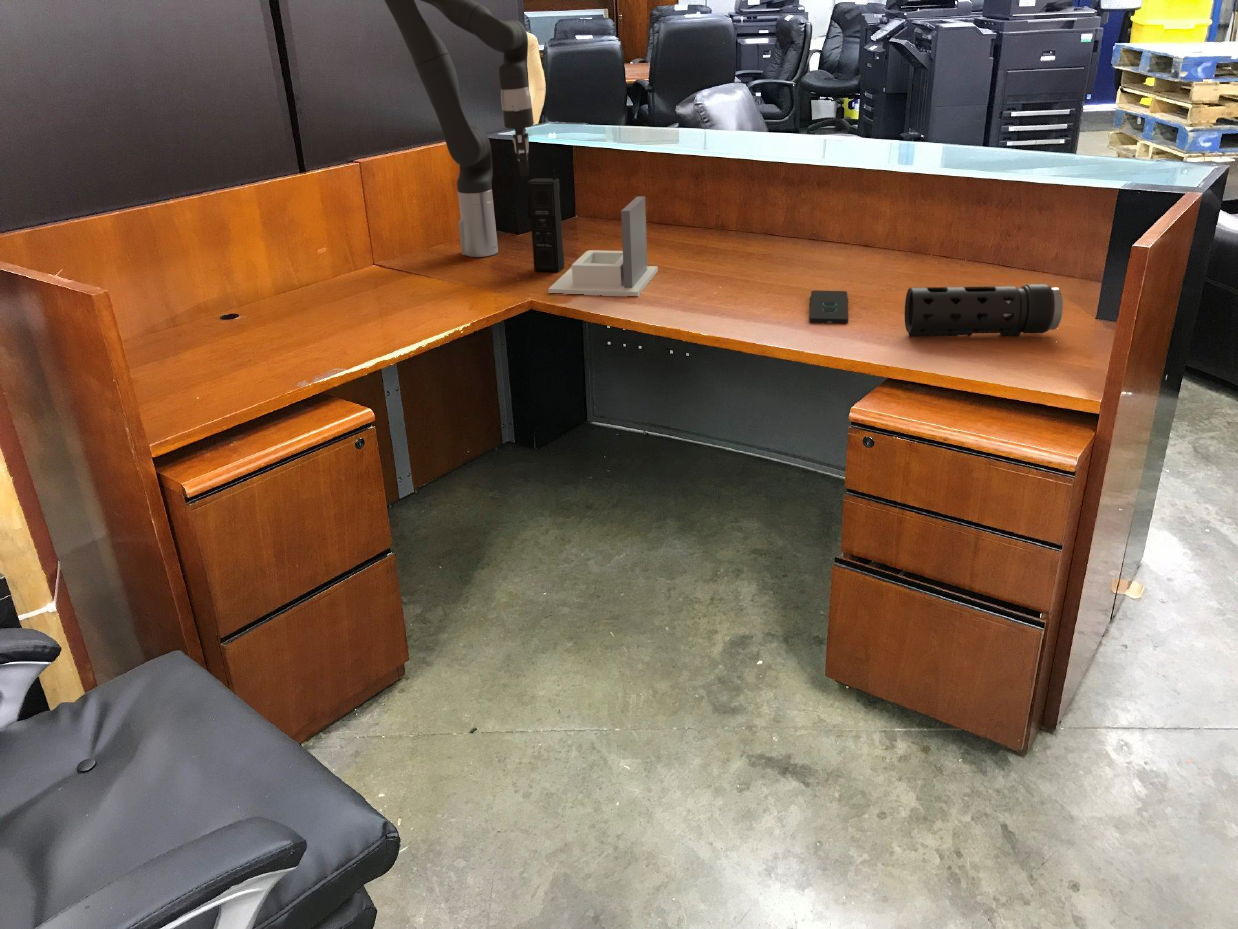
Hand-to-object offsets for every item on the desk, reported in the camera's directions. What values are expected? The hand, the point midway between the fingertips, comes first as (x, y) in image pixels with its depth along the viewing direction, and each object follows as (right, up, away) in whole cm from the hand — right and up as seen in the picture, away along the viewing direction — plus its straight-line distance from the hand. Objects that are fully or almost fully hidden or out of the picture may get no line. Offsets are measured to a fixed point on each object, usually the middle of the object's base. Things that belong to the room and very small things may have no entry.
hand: (525, 172), depth 250 cm
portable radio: (+6, -26, -1) cm, 26 cm away
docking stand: (+21, -31, -14) cm, 40 cm away
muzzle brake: (+96, -51, -59) cm, 124 cm away
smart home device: (+71, -43, -39) cm, 91 cm away
